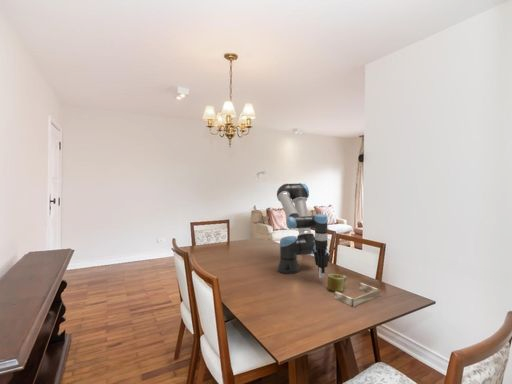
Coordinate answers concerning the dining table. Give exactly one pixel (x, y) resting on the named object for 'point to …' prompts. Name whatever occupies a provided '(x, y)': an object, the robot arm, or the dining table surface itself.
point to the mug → (336, 282)
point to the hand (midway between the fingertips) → (321, 277)
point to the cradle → (360, 299)
